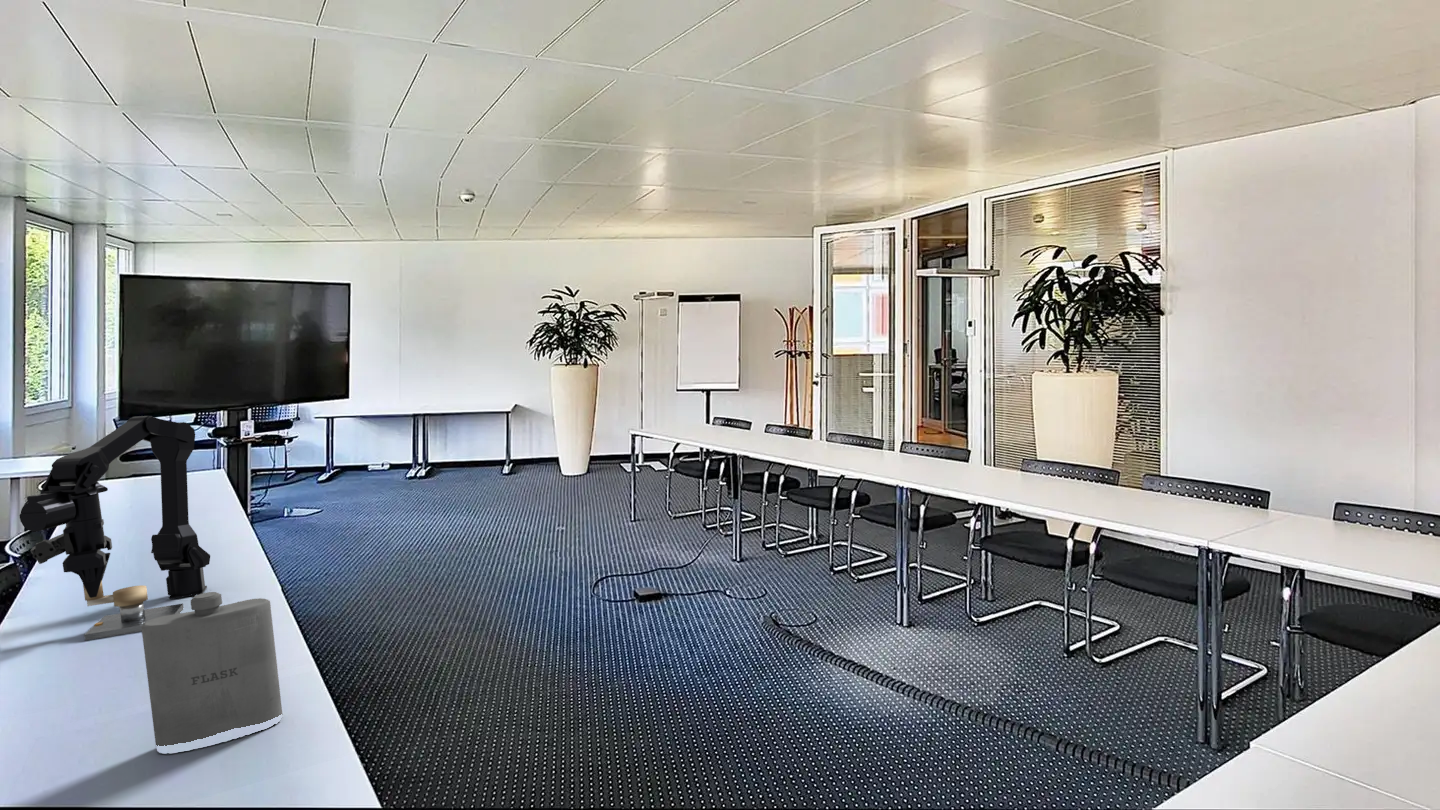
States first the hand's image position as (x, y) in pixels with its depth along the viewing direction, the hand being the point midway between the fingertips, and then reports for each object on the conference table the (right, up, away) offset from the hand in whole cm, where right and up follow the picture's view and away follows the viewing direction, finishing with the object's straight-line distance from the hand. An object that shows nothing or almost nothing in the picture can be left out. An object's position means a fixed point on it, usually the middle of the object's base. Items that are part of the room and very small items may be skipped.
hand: (94, 594), depth 163 cm
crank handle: (+3, -2, +2) cm, 4 cm away
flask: (+57, -8, -51) cm, 77 cm away
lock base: (+6, -7, +3) cm, 9 cm away
